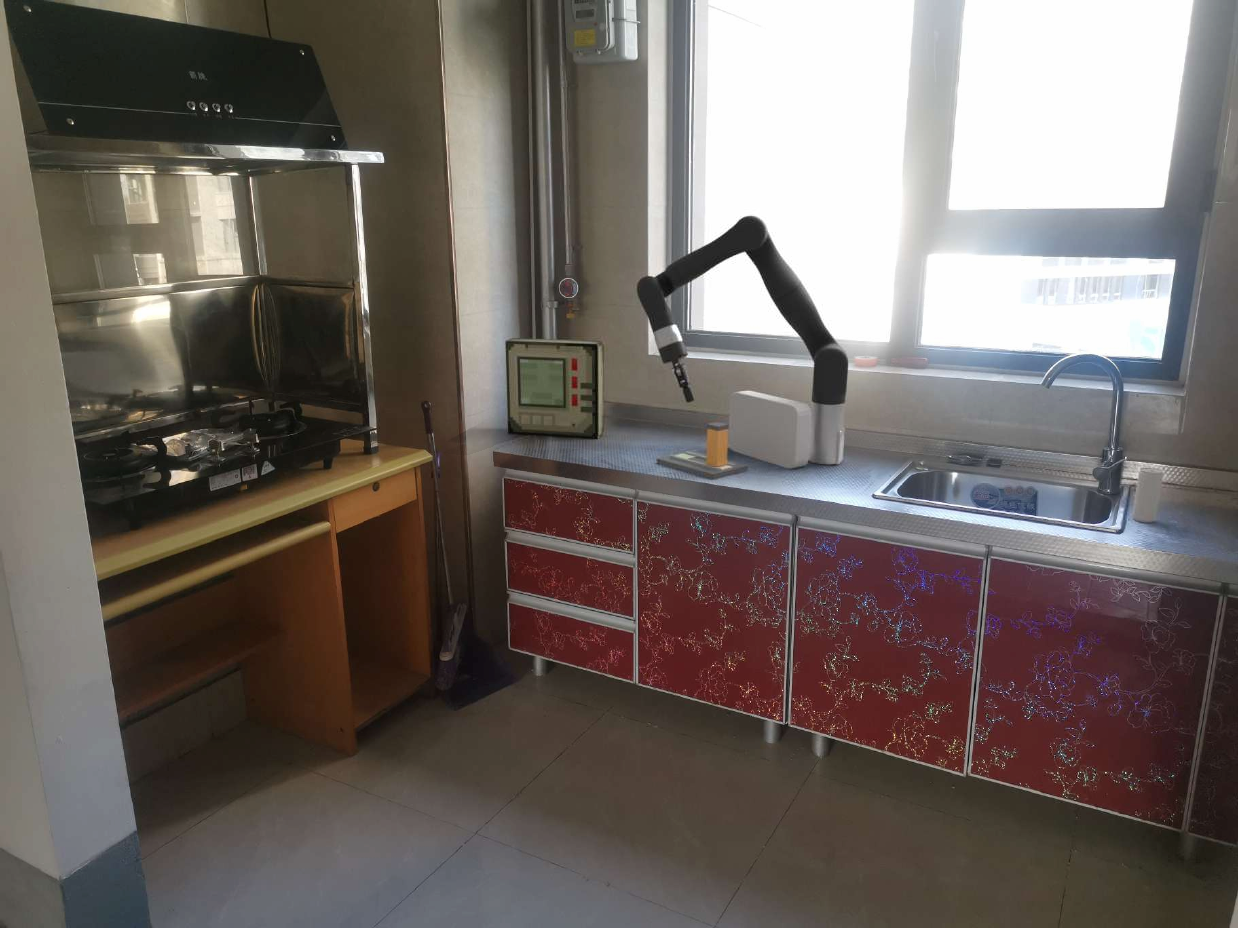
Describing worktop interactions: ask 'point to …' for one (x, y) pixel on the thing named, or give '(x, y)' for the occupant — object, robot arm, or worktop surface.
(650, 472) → the worktop surface
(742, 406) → the rounded white slab
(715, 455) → the handle
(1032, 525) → the worktop surface
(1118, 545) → the worktop surface
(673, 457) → the plate
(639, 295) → the robot arm
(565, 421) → the control panel
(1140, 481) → the beverage can
